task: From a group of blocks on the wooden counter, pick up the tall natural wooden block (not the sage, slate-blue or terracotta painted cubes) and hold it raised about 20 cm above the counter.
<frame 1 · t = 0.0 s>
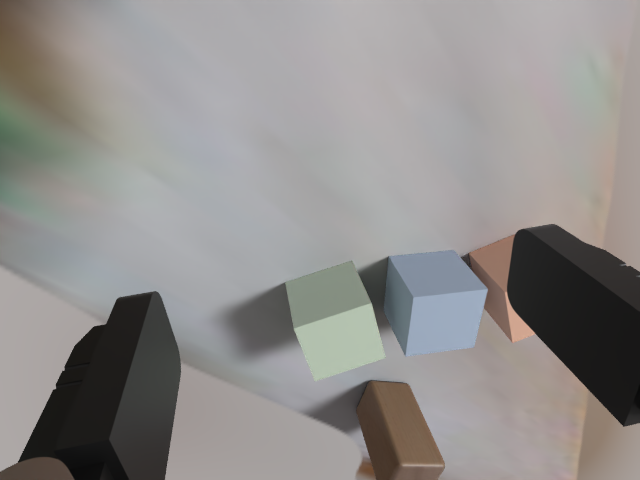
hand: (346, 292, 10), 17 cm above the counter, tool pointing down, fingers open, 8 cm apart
slate blue cube: (417, 280, 32), on the counter
terracotta cube: (503, 265, 33), on the counter
wooden block: (380, 394, 38), on the counter
sage cube: (327, 297, 32), on the counter
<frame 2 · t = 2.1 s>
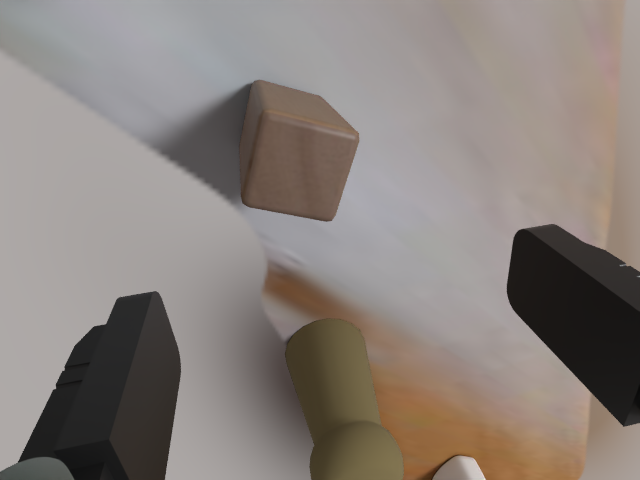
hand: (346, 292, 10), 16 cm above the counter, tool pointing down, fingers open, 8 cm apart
wooden block: (280, 123, 23), on the counter
olive pawn: (324, 349, 32), on the counter
eye dropper bottle: (449, 469, 42), on the counter
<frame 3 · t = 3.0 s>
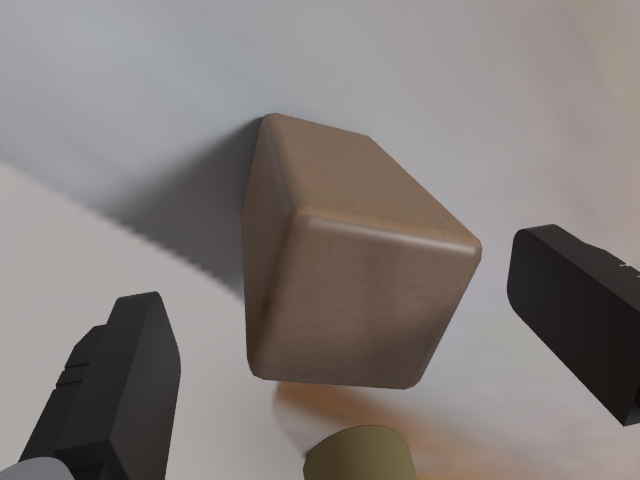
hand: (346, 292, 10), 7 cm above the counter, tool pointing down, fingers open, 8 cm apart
wooden block: (305, 175, 15), on the counter
olive pawn: (355, 459, 24), on the counter
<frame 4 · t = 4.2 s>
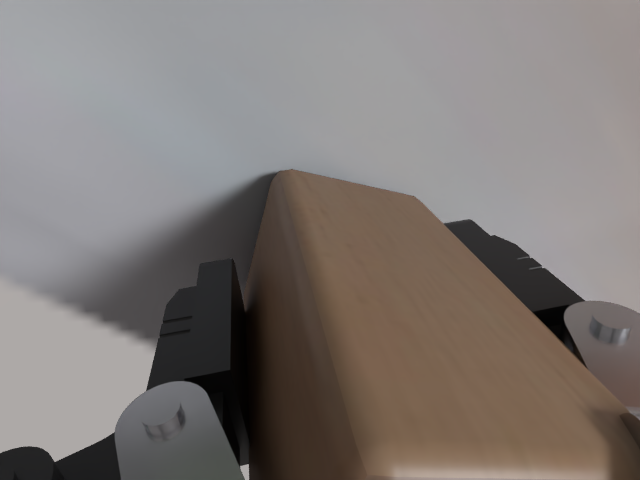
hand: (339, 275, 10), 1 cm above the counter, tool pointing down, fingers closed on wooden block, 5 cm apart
wooden block: (327, 243, 12), on the counter, touching gripper
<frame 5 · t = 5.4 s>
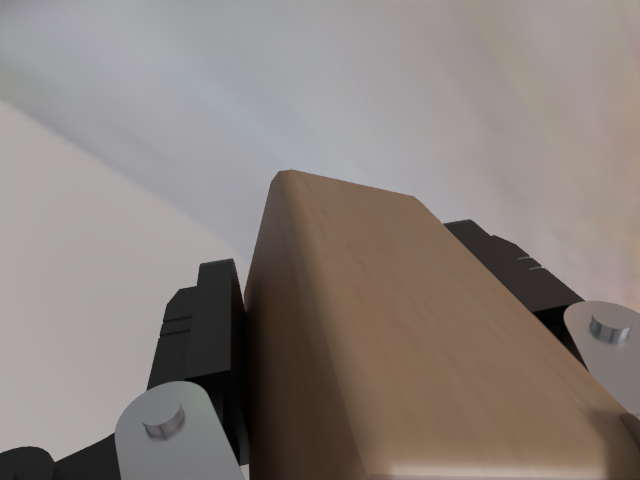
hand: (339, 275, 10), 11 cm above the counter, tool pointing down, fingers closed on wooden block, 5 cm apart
wooden block: (327, 243, 12), point 10 cm above the counter, touching gripper
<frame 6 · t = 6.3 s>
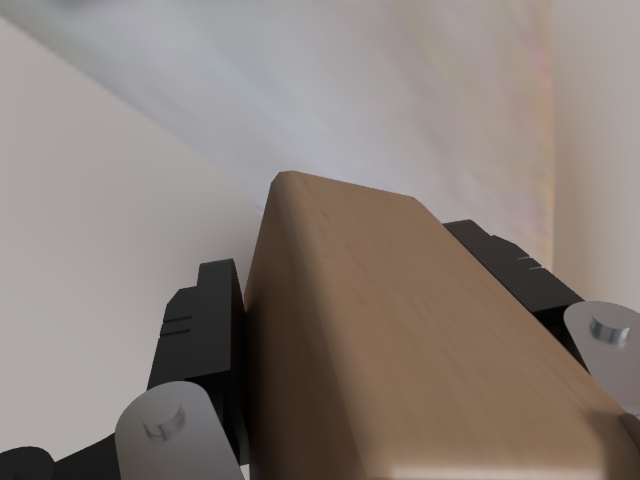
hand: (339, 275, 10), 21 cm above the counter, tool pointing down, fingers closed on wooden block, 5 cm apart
wooden block: (327, 244, 12), point 19 cm above the counter, touching gripper
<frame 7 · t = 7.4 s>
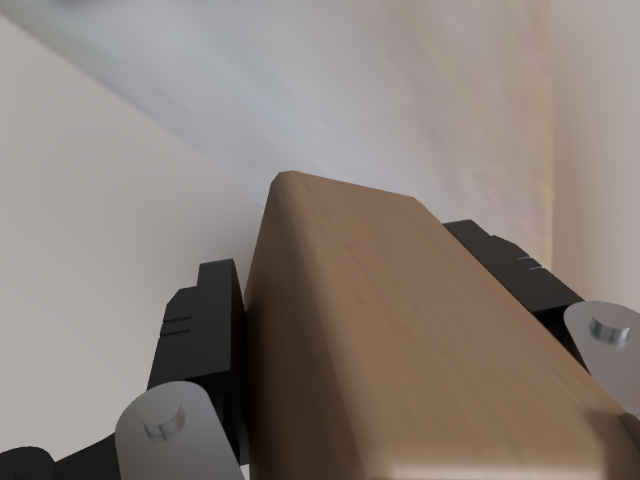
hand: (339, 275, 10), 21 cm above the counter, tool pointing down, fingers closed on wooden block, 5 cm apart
wooden block: (327, 244, 12), point 20 cm above the counter, touching gripper
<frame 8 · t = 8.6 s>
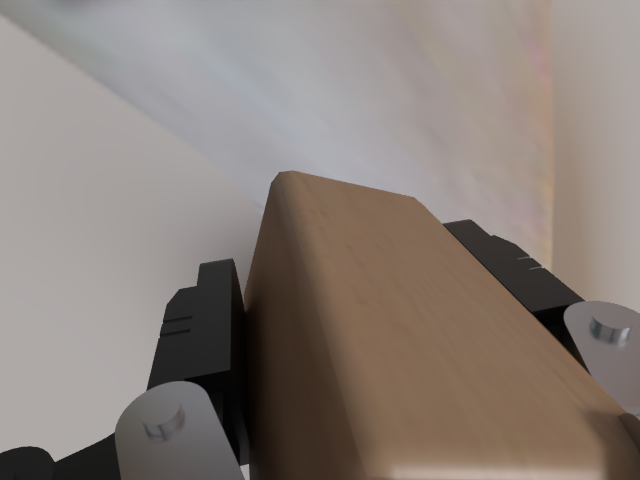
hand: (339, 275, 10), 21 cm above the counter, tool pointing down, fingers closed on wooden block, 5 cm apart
wooden block: (327, 244, 12), point 20 cm above the counter, touching gripper
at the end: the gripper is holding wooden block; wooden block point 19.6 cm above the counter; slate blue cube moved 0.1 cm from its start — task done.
